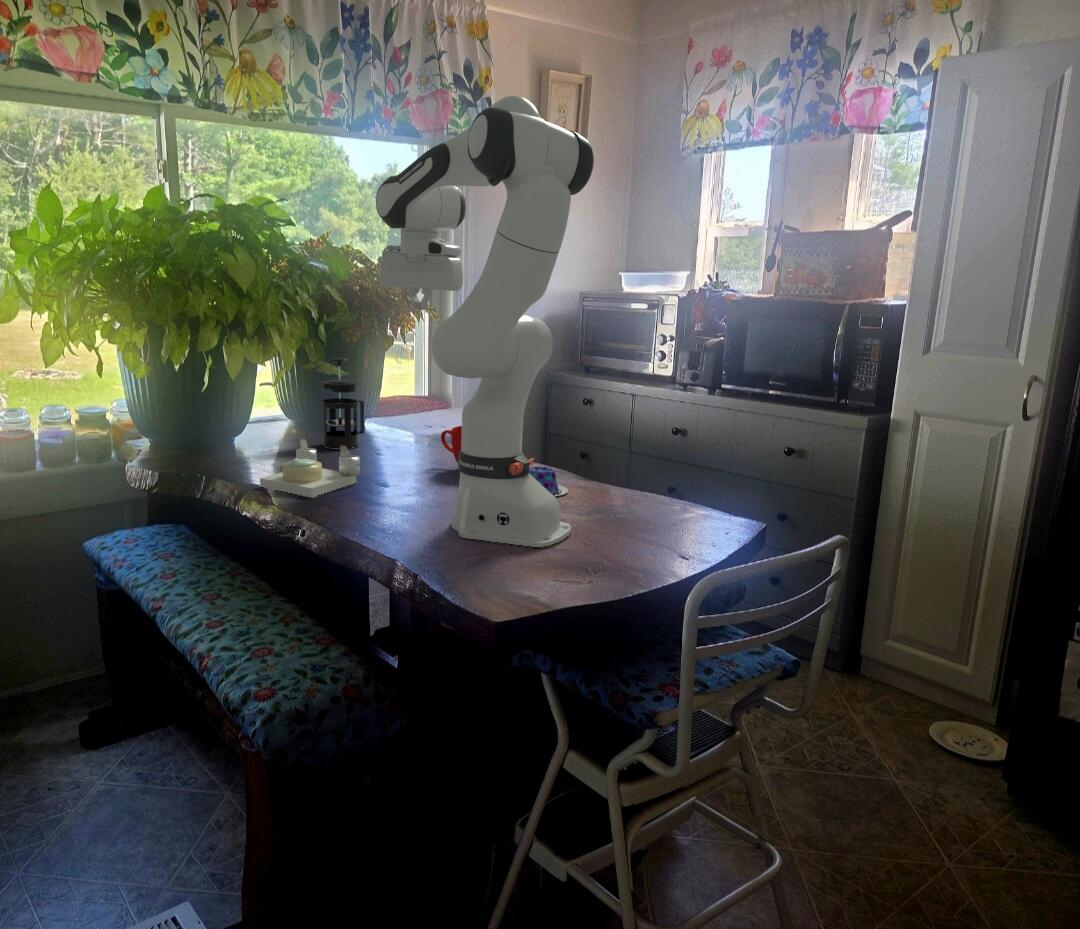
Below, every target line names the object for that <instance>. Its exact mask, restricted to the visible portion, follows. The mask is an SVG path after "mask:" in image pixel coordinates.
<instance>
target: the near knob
mask: <svg viewBox="0 0 1080 929" xmlns="http://www.w3.org/2000/svg"><path fill="white" fill-rule="evenodd" d="M339 451H340V456H338V471H339V474H340V475H343V476H355V475H356V476H359V475H360V474H361V457H360V456H359V455H355V454H351V452H350V451H349V449H347V447H346V446H340V450H339Z"/></svg>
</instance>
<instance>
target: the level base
mask: <svg viewBox="0 0 1080 929" xmlns="http://www.w3.org/2000/svg"><path fill="white" fill-rule="evenodd" d="M281 467H282V470H281V471H282V472H277V473H273V474H270V475H267V476H264V477H259V484H260V485H259V487H260V488H261V487H264V488H263V489H266V488H268V489H267V490H271V489H274V490H273V491H275V490H279V491H278V492H280V491H284V492H283V493H285V492H288V493H287V494H290V493H293V494H292V495H295V494H297V495H296V496H300V495H301V497H306V498H310V499H313V498H316V497H319V496H318V495H320V496H322V495H321V494H323V495H325V494H324V493H326V494H328V493H327V492H329V493H331V492H330V491H332V492H334V491H333V490H335V491H337V490H336V489H338V490H340V489H339V488H341V489H343V488H342V487H344V488H346V487H345V486H347V487H349V486H348V485H350V486H352V485H351V484H353V485H355V484H354V483H356V484H357V475H355V476H343V475H340V474H339V470H338V471H337V470H333V469H327V468H323V463H322V462H320V461H318V460H317V461H314V460H310V459H296V457H295V458H293V459H292V460H289V461H285V462H283V463H282V464H281Z"/></svg>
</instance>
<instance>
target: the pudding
mask: <svg viewBox="0 0 1080 929" xmlns="http://www.w3.org/2000/svg"><path fill="white" fill-rule="evenodd" d="M529 471H530V472H529V473H530V474H531V475H532V476H533V477H534V478H535V479H536V480H537V481H538V482H539V483H540V484H541V485H542V486H543V487H544V488H545V489H546V490H548V491H549V492H550V493H551V494H552V495H553V494H554V495H555V496H554V495H553V496H554V497H559V496H563V495H565V494H567V493H568V492H569V489H568V488H567V487H566V486H564V485H561V484H558V479H557V474H556V471H555V469H554V468H552V467H551V468H550V467H549V466H541V465H540V466H531V467H529ZM558 489H560V490H562V492H561V494H559V495H557V494H558V493H560V491H559V490H558Z"/></svg>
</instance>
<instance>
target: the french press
mask: <svg viewBox="0 0 1080 929" xmlns="http://www.w3.org/2000/svg"><path fill="white" fill-rule="evenodd" d="M330 361H336V364H337V366H338V379H327V380H321V384H322V385H323V388H324V389H325V390H328V389H330V390H332V392H334V393H338V397H334V398H333V397H331V398H325V399H322V400H321V407H322V444H321V446H322V445H323V446H325V447H329V448H340V446H346V447H347V448H352V447H357V446H358V445H360V444H359V435H361V434H364V433H365V416H364V415H365V408H364V407H365V403H364V400H362V399H354V398H347V397H342V398H341V394H342V393H343V394H344V393H355V392H356V391H357V390H356V389H357V385H358V382H357V381H356V380H349V379H341V367H342V362H345V361H348V358H346V357H345V358H344V357H333V358H331V359H330ZM358 403H359V404H358ZM358 406H359V430H358ZM327 409H329V413H328V414H329V419H327ZM338 409H339V410H338ZM342 409H343V411H344V414H343V415H344V418H342V417H341V416H342V415H341V414H342ZM352 409H353V417H352ZM337 410H338V412H339V413H338V414H339V415H338V416H339V417H338V418H337ZM352 418H353V419H352ZM328 427H329V430H328V431H327V428H328ZM352 427H353V430H352ZM337 428H344V430H340V429H339V430H337ZM358 447H359V446H358ZM358 447H357V448H358Z"/></svg>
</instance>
